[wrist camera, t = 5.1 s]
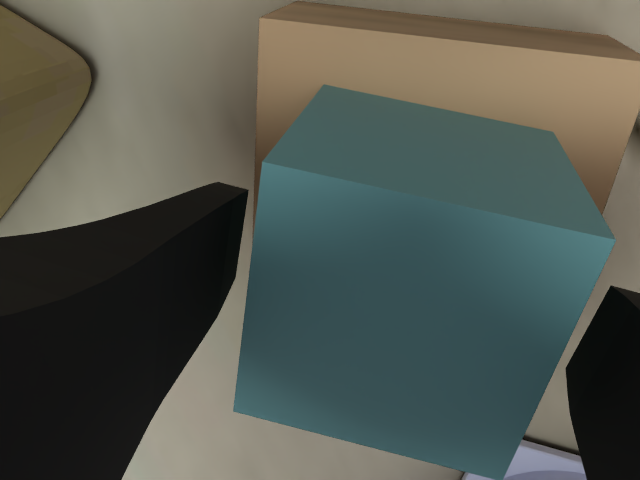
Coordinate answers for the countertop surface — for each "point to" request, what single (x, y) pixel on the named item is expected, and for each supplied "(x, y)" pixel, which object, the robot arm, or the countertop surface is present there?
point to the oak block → (453, 77)
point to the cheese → (33, 99)
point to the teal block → (414, 278)
